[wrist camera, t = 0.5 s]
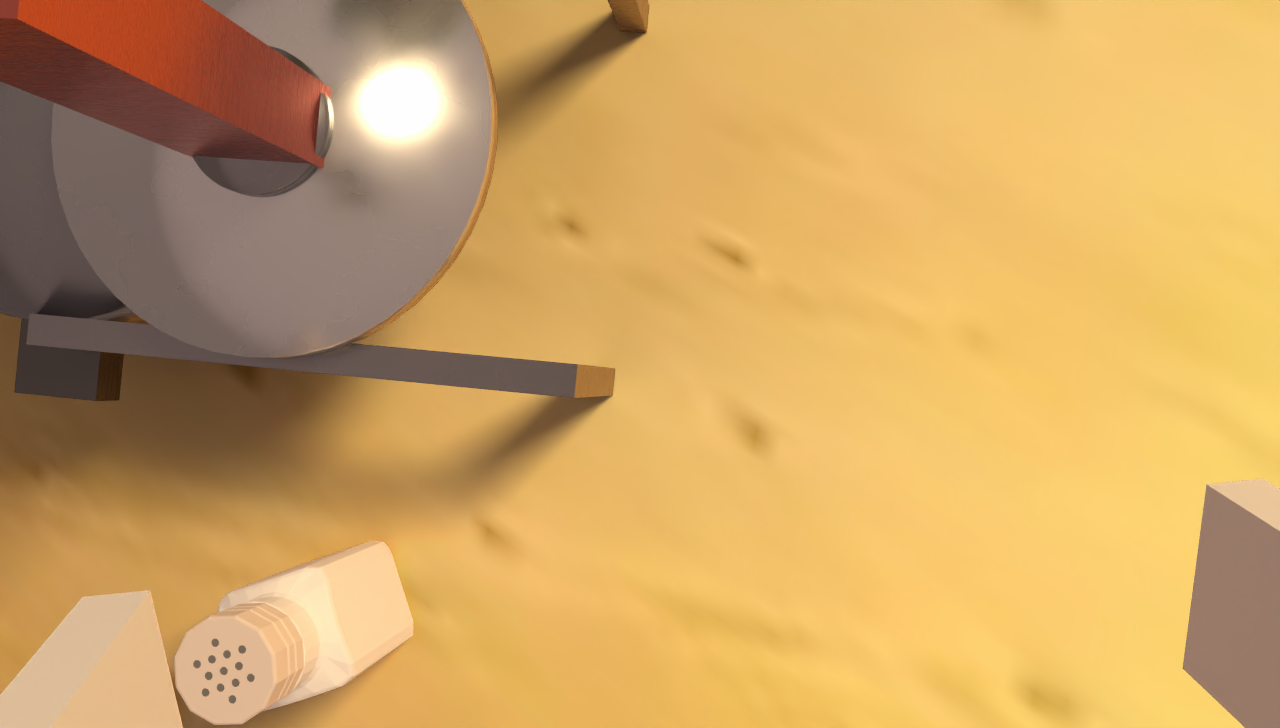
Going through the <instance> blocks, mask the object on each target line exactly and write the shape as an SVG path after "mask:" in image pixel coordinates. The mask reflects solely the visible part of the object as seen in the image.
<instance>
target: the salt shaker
mask: <svg viewBox="0 0 1280 728" xmlns="http://www.w3.org/2000/svg"><path fill="white" fill-rule="evenodd" d="M412 635H413V619H412V616H411V613H410V610H409V607H408V603H407V600H406V597H405V594H404V591H403V588H402V584H401V581H400V578H399V575H398V572H397V569H396V566H395V562H394V559H393V556H392V553H391V550H390V549H389V547H388V546H387V545H386V543H384V542H380V541H369V542H366V543H363V544H360V545H357V546H354V547H351V548H348V549H345V550H342V551H339V552H336V553H333V554H330V555H327V556H324V557H321V558H318V559H315V560H312V561H309V562H307V563H304V564H301V565H298V566H296V567H293V568H291V569H288V570H285V571H283V572H280V573H278V574H275V575H272V576H270V577H267V578H264V579H262V580H259V581H257V582H254V583H251V584H249V585H246V586H244V587H241V588H238V589H236V590H233V591H231V592H229V593H228V594H227V595H226V596H225V597H224V598H223V599H222V600H221V601H220V604H219V608H218V613H216V614H213V615H211V616H209V617H207V618H206V619H204V620H203V621H201V622H200V623H199V624H197V625H196V626H194V627H193V628H191V629H190V630H188V631H187V632H186V634H185V636H184V638H183V640H182V642H181V644H180V646H179V649H178V651H177V653H176V655H175V657H174V666H175V686H176V688H177V690H178V692H179V693H180V695H181V697H182V698H183V700H184V702H185V703H186V705H187V707H188V708H189V710H190V711H191V712H193V713H194V714H196V715H198V716H199V717H201V718H203V719H205V720H206V721H208V722H210V723H212V724H213V725H237V724H243V723H245V722H246V721H248V720H249V719H251V718H253V717H254V716H256V715H257V714H259V713H260V712H262V711H266V710H270V709H273V708H277V707H281V706H284V705H288V704H291V703H294V702H298V701H301V700H304V699H307V698H310V697H313V696H316V695H319V694H322V693H325V692H328V691H330V690H333V689H336V688H339V687H341V686H344V685H345V684H347V683H348V682H350V681H351V680H352V679H354V678H355V677H357V676H358V675H359V674H361V673H362V672H364V671H365V670H366V669H368V668H369V667H371V666H372V665H374V664H375V663H376V662H378V661H379V660H381V659H382V658H383V657H385V656H386V655H388V654H389V653H390V652H392V651H393V650H395V649H396V648H398V647H399V646H400V645H402V644H403V643H404V642H406V641H407V640H408V639H409V638H410V637H411V636H412Z"/></svg>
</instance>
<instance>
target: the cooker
mask: <svg viewBox="0 0 1280 728" xmlns="http://www.w3.org/2000/svg"><path fill="white" fill-rule="evenodd" d="M608 2H609V5H610V7H611V10H612V12H613V14H614V17H615V19H616V22H617V24H618V26H619V29H620V31H633V32H647V24H648V14H649V3H648V0H608ZM53 104H54V102H51V101H49V100H46V99H44V98H41V97H39V96H36V95H34V94H31V93H29V92H26V91H23V90H21V89H18V88H16V87H13V86H11V85H8V84H6V83H3V82H1V81H0V313H3V314H7V315H10V316H13V317H19V318H22V322H21V332H20V342H19V352H18V362H17V372H16V382H15V392H16V393H26V394H35V395H45V396H54V397H64V398H73V399H83V400H93V401H109V400H119V396H120V386H121V376H122V366H123V356H124V354H130V355H140V356H150V357H161V358H171V359H181V360H191V361H202V362H212V363H222V364H232V365H242V366H253V367H263V368H273V369H283V370H294V371H304V372H314V373H324V374H335V375H345V376H355V377H365V378H375V379H386V380H396V381H406V382H416V383H427V384H437V385H447V386H457V387H468V388H478V389H488V390H498V391H508V392H519V393H529V394H539V395H549V396H560V397H570V398H581V397H597V396H612V395H613V387H614V376H615V369H614V368H605V367H596V366H587V365H578V364H567V363H556V362H546V361H535V360H524V359H513V358H503V357H492V356H481V355H470V354H460V353H449V352H438V351H427V350H417V349H406V348H395V347H385V346H374V345H363V344H352V343H350V344H348V345H345V346H343V347H340V348H337V349H333V350H329V351H325V352H321V353H317V354H313V355H306V356H297V357H288V358H264V357H242V356H236V355H230V354H224V353H218V352H212V351H209V350H206V349H203V348H200V347H197V346H193V345H190V344H187V343H185V342H183V341H181V340H178V339H176V338H174V337H172V336H170V335H168V334H166V333H164V332H162V331H160V330H158V329H157V328H155V327H154V326H152V325H151V324H149V323H148V322H146V321H145V320H143V319H142V318H140V317H139V316H137V315H136V314H135V313H134V312H133V311H131V310H130V309H129V308H128V307H127V306H126V305H125V304H123V303H122V302H121V301H120V300H119V299H118V298H117V297H116V296H115V295H114V294H113V293H112V292H111V291H110V290H109V288H108V287H107V286H106V285H105V284H104V283H103V281H102V280H101V279H100V278H99V277H98V276H97V274H96V273H95V271H94V270H93V268H92V267H91V265H90V264H89V262H88V261H87V259H86V258H85V256H84V255H83V253H82V252H81V250H80V248H79V246H78V244H77V241H76V239H75V237H74V235H73V233H72V231H71V229H70V227H69V225H68V222H67V219H66V216H65V213H64V210H63V207H62V204H61V201H60V198H59V194H58V189H57V184H56V179H55V174H54V169H53V157H52V144H51V133H52V110H53Z"/></svg>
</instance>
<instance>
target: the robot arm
mask: <svg viewBox="0 0 1280 728" xmlns="http://www.w3.org/2000/svg"><path fill="white" fill-rule="evenodd" d="M1183 669H1184V670H1185V671H1186V672H1187V673H1188V674H1189V675H1190V676H1191V677H1192V678H1193V679H1194V680H1196V681H1197V682H1198V683H1199V684H1200V685H1201V686H1202V687H1203V688H1204V689H1205V690H1206V691H1207V692H1208V693H1209V694H1210V695H1211V696H1212V697H1213V698H1214V699H1216V700H1217V701H1218V702H1219V703H1220V704H1221V705H1222V706H1223V707H1224V708H1225V709H1226V710H1227V711H1228V712H1229V713H1230V714H1231V715H1232V716H1233V717H1235V718H1236V719H1237V720H1238V721H1239V722H1240V723H1241V724H1242V725H1243V726H1244V727H1245V728H1280V488H1278V487H1276V486H1275V485H1273V484H1271V483H1270V482H1268V481H1266V480H1264V479H1255V480H1245V481H1235V482H1225V483H1215V484H1207V485H1206V493H1205V501H1204V508H1203V516H1202V524H1201V532H1200V539H1199V547H1198V555H1197V562H1196V570H1195V578H1194V585H1193V593H1192V601H1191V609H1190V616H1189V624H1188V632H1187V639H1186V647H1185V655H1184V663H1183ZM0 728H183V726H182V721H181V717H180V713H179V709H178V705H177V701H176V696H175V692H174V688H173V684H172V680H171V676H170V671H169V667H168V663H167V659H166V655H165V650H164V646H163V642H162V638H161V634H160V630H159V625H158V621H157V617H156V613H155V609H154V605H153V600H152V596H151V592H150V590H147V591H137V592H127V593H118V594H108V595H98V596H88V597H82V598H81V600H80V601H79V602H78V603H77V604H76V605H75V607H74V608H73V609H72V610H71V611H70V613H69V614H68V615H67V616H66V617H65V619H64V620H63V621H62V622H61V623H60V625H59V626H58V627H57V628H56V629H55V630H54V632H53V633H52V634H51V635H50V636H49V638H48V639H47V640H46V641H45V642H44V644H43V645H42V646H41V647H40V648H39V650H38V651H37V652H36V653H35V654H34V655H33V657H32V658H31V659H30V660H29V661H28V663H27V664H26V665H25V666H24V667H23V669H22V670H21V671H20V672H19V673H18V675H17V676H16V677H15V678H14V679H13V680H12V682H11V683H10V684H9V685H8V686H7V688H6V689H5V690H4V691H3V692H2V694H1V695H0Z"/></svg>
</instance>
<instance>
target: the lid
mask: <svg viewBox="0 0 1280 728" xmlns="http://www.w3.org/2000/svg"><path fill="white" fill-rule="evenodd" d="M0 81H1V82H3V83H6V84H8V85H11V86H13V87H16V88H18V89H21V90H23V91H26V92H29V93H31V94H34V95H36V96H39V97H41V98H44V99H46V100H49V101H51V102H54V104H53V110H52V133H51V144H52V157H53V169H54V174H55V179H56V184H57V189H58V194H59V198H60V201H61V204H62V207H63V210H64V213H65V216H66V219H67V222H68V225H69V227H70V229H71V231H72V233H73V235H74V237H75V239H76V241H77V244H78V246H79V248H80V250H81V252H82V253H83V255H84V256H85V258H86V259H87V261H88V262H89V264H90V265H91V267H92V268H93V270H94V271H95V273H96V274H97V276H98V277H99V278H100V279H101V280H102V281H103V283H104V284H105V285H106V286H107V287H108V288H109V290H110V291H111V292H112V293H113V294H114V295H115V296H116V297H117V298H118V299H119V300H120V301H121V302H122V303H123V304H125V305H126V306H127V307H128V308H129V309H130V310H131V311H133V312H134V313H135V314H136V315H137V316H139V317H140V318H142V319H143V320H145V321H146V322H148V323H149V324H151V325H152V326H154V327H155V328H157V329H158V330H160V331H162V332H164V333H166V334H168V335H170V336H172V337H174V338H176V339H178V340H181V341H183V342H185V343H187V344H190V345H193V346H197V347H200V348H203V349H206V350H209V351H212V352H218V353H224V354H230V355H236V356H242V357H264V358H288V357H297V356H306V355H313V354H317V353H321V352H325V351H329V350H333V349H337V348H340V347H343V346H345V345H348V344H350V343H353V342H355V341H358V340H360V339H363V338H365V337H367V336H369V335H371V334H372V333H374V332H376V331H378V330H379V329H381V328H383V327H385V326H387V325H388V324H390V323H392V322H393V321H395V320H396V319H397V318H398V317H400V316H401V315H402V314H404V313H405V312H406V311H408V310H409V309H410V308H412V307H413V306H414V305H416V304H417V303H418V302H419V301H420V300H421V299H422V298H423V297H424V296H425V295H426V294H427V293H428V292H429V291H430V290H431V289H432V288H433V287H434V286H435V285H436V284H437V283H438V282H439V280H440V279H441V278H442V276H443V275H444V274H445V273H446V271H447V270H448V269H449V268H450V266H451V265H452V264H453V262H454V261H455V260H456V258H457V257H458V255H459V253H460V252H461V250H462V248H463V247H464V245H465V243H466V242H467V240H468V238H469V237H470V235H471V233H472V231H473V229H474V226H475V224H476V222H477V219H478V217H479V215H480V212H481V210H482V208H483V206H484V202H485V199H486V196H487V192H488V189H489V185H490V182H491V179H492V175H493V168H494V162H495V156H496V150H497V135H498V109H497V99H496V88H495V82H494V78H493V73H492V69H491V65H490V60H489V56H488V53H487V51H486V48H485V45H484V43H483V40H482V37H481V35H480V32H479V29H478V27H477V25H476V23H475V21H474V20H473V18H472V16H471V14H470V12H469V10H468V8H467V7H466V5H465V3H464V1H463V0H0Z"/></svg>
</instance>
